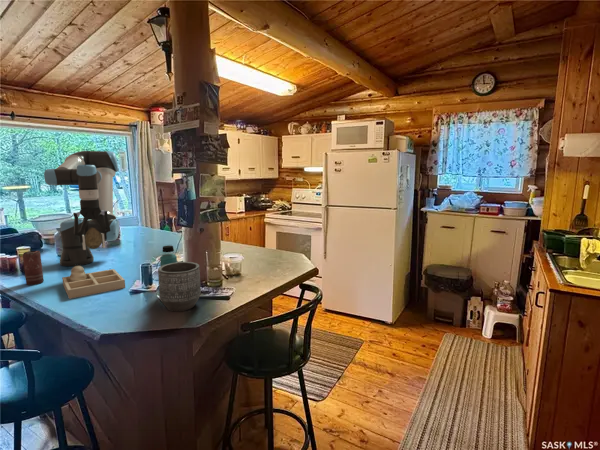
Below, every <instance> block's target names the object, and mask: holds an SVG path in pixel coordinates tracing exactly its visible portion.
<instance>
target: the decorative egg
mask: <svg viewBox="0 0 600 450" xmlns="http://www.w3.org/2000/svg"><path fill="white" fill-rule="evenodd" d="M85 244H86V246H87V247H89V249H90V250H94V249H98V248H100V247H101V246H102V236H101V234H100V233H99V231H98V230H96V229H95V228H90V229H89V230H88V231H87V233H86V234H85Z"/></svg>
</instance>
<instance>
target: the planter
mask: <svg viewBox="0 0 600 450" xmlns="http://www.w3.org/2000/svg"><path fill="white" fill-rule="evenodd" d="M157 271H158V273H157V274H158V276H157V277H158V288H159V289H158V292H159V300H160V302H161V303H162V305H164V306H165V308H166V309H167V310H168V311H171V312H183V311H188V310H191V309H192V308H194V307H195V306H196V304H197V302H198V301H199V298H200V297H201V293H202V292H201V270H200V264H198V263H197V262H192V261H177V262H175V263H170V264H166V265H163V266H161V265H160V267H158V268H157Z"/></svg>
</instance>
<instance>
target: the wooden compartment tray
mask: <svg viewBox="0 0 600 450" xmlns="http://www.w3.org/2000/svg"><path fill="white" fill-rule="evenodd" d="M85 273H86V272H85ZM86 276H87V277H86V280H80V281H74V282H71V280H70V275H68V276H62V286H63V288H64V291H65V293H66V294H67V297H68V299H69V300H70V299H75V298H81V297H85V296H90V295H95V294H100V293H105V292H110V291H115V290H120V289H125V288H126V279H125V278H123V276H122V275H121V274H119V273H118V271H117V270H116V269H114V268H112V269H111V268H110V269H107V270H106V269H105V270H99V271H93V272H87V273H86Z"/></svg>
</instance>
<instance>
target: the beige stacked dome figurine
mask: <svg viewBox="0 0 600 450" xmlns="http://www.w3.org/2000/svg"><path fill="white" fill-rule="evenodd" d="M69 276H70V280H71V282H74V281H80V280H86V277H87V276H86V272H85V269H84V267H83V266H82V265H78V266H72V268H71V269H70V275H69Z"/></svg>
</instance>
